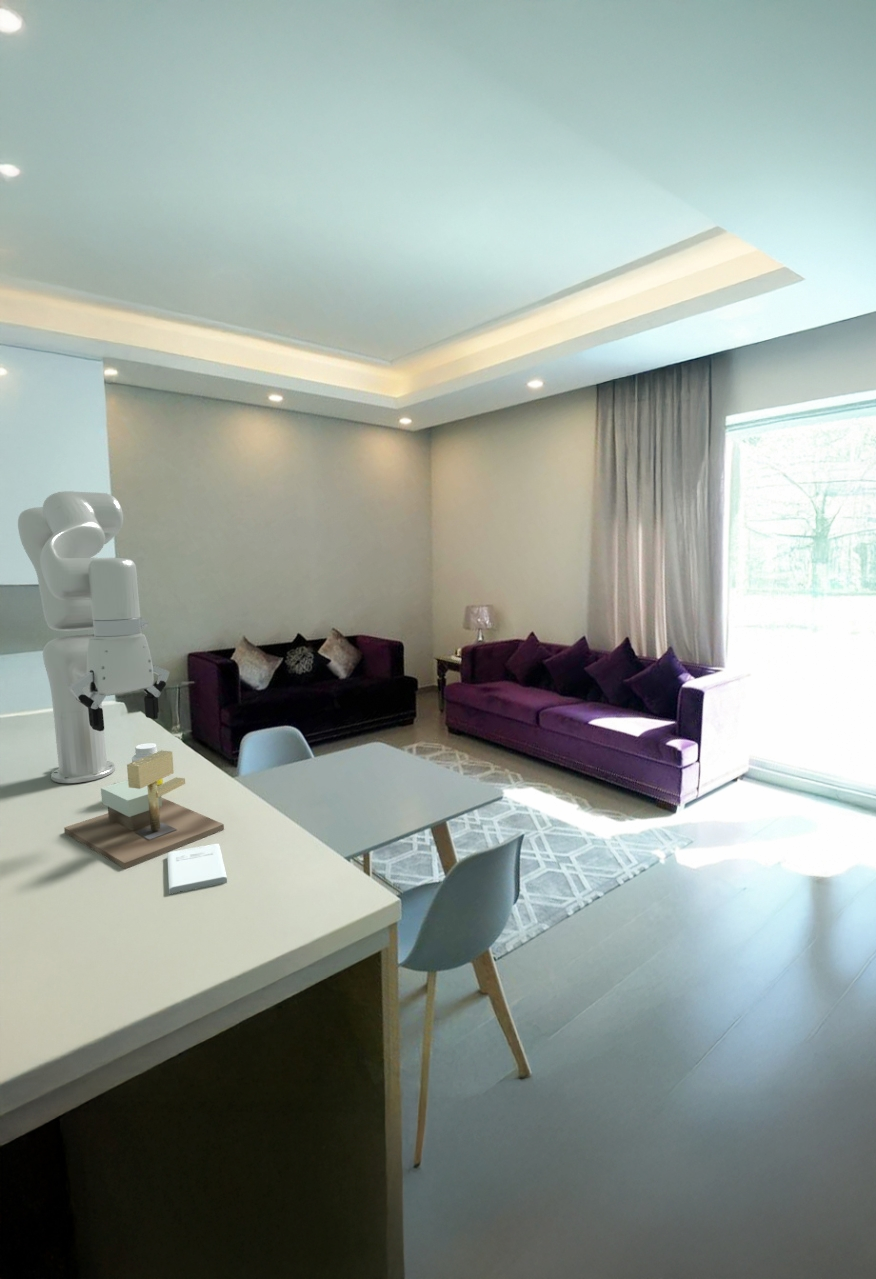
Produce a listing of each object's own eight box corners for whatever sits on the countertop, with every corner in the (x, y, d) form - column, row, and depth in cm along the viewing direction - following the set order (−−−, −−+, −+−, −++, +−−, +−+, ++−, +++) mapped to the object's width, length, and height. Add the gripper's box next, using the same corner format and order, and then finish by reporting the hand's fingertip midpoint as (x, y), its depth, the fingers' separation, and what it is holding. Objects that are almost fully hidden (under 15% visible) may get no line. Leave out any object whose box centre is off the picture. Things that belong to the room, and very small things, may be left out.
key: (177, 812, 120) (173, 745, 118) (188, 813, 119) (183, 746, 117) (132, 837, 110) (126, 764, 108) (144, 839, 109) (138, 766, 107)
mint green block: (102, 803, 118) (100, 787, 118) (134, 793, 123) (132, 778, 122) (129, 816, 112) (127, 800, 112) (161, 805, 117) (160, 790, 116)
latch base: (64, 832, 115) (62, 811, 115) (159, 801, 129) (158, 782, 129) (125, 869, 102) (123, 845, 101) (223, 829, 116) (222, 808, 115)
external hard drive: (169, 898, 94) (167, 860, 106) (227, 886, 98) (219, 851, 109) (168, 887, 94) (166, 851, 106) (227, 876, 98) (219, 842, 109)
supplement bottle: (136, 800, 130) (133, 751, 129) (132, 791, 135) (128, 744, 133) (166, 794, 133) (162, 746, 132) (160, 786, 138) (157, 740, 136)
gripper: (153, 623, 122) (160, 711, 124) (55, 633, 108) (65, 731, 111) (175, 625, 117) (181, 716, 119) (75, 635, 104) (85, 738, 106)
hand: (125, 723), depth 115 cm, fingers open, 9 cm apart
